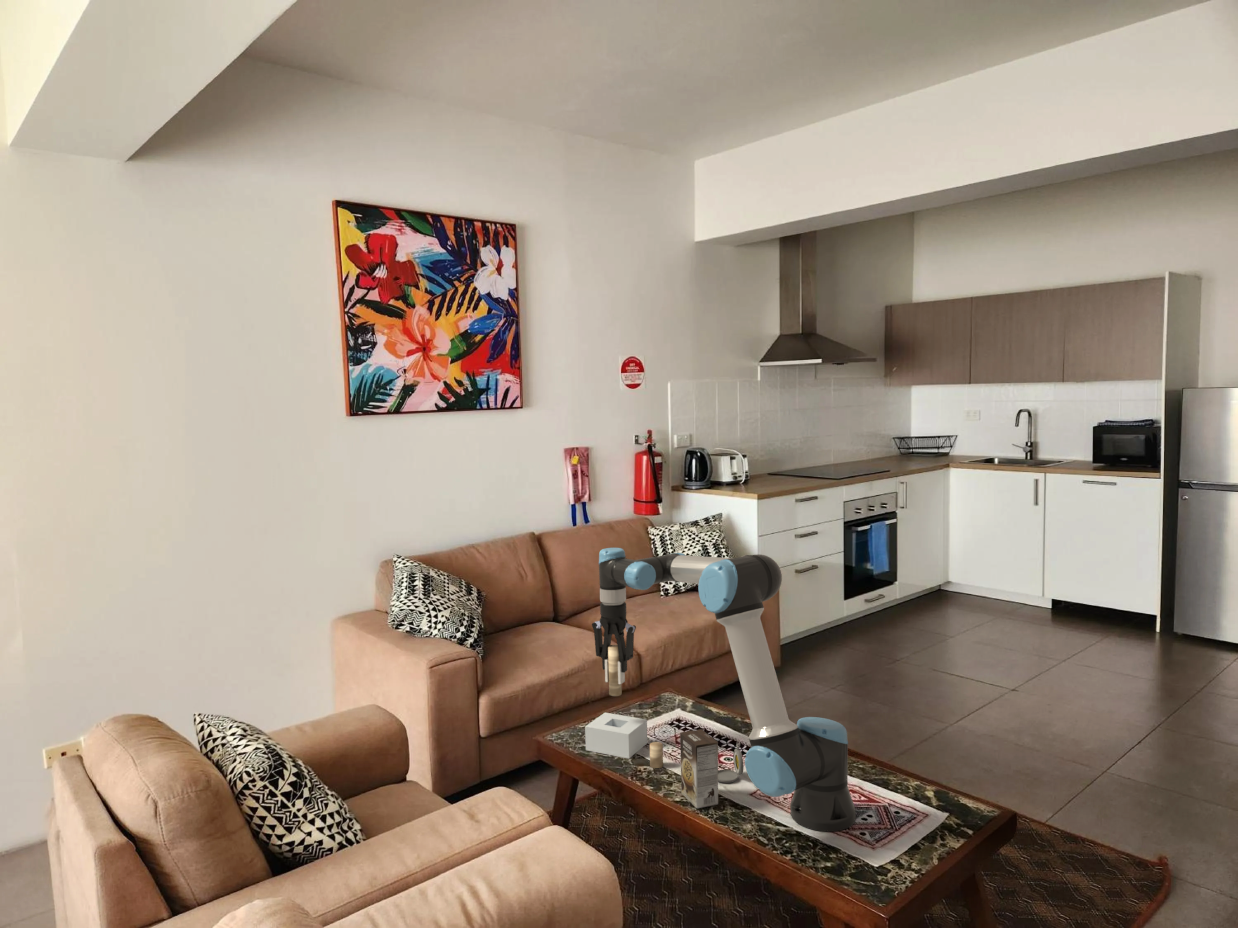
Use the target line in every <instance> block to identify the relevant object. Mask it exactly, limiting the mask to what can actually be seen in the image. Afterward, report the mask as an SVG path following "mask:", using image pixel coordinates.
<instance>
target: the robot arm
mask: <svg viewBox="0 0 1238 928" xmlns="http://www.w3.org/2000/svg"><path fill="white" fill-rule="evenodd" d="M626 557H627V555H626V551H625V550H624V549H623V548H621V547H607V548H602V549H601V550H600V551H599V554H598V574H599V575H598V576H599V601H600V603H599V606H600V607H599V611H600V614H599V615H600V618H599V620H596V621H593V622H592V623H591V627H592V630H593V633H594V647H595V656H596V657H600V658H601V662H602V663H601V664H602V670H604V682H605V683H609V667H608V646H609V645H612V636H613V635H614V638H615V640H616V645H617V646H618V651H619V657H620V660H619V661H618V684H621V685H622V684H623V683H625V680H626V674H625V673H626V672H627V671H628V661H630V660H631V659H633V658H634V643H635V642H634V640H635V631H636V630H637V627H636V625H634V624H630V623H629V622H628V620H627V603H626V601H627V589H626V587H628V588H631V589H634V590H639V591H646V590H648V589H649V588H651V587H652V586H653V585H657V584H660V583H665V582H666V583H667V582H676V583H685V584H686V583H688V584H695V585H697V584H698V587H697V588H698V597H699V600H700V602H701V604H702V606H703V607H705V609H706V610H707V611H708V612H711V613H713V614H714V616H715V620H716V622H717V623H718V624H720V625H722V626H723V627H724V628H725V632H726V635H727V640H728V643H729V646H730V650H731V653H732V658H733V662H734V665H735V669H736V672H737V675H738V679H739V682H740V687H741V690H742V694H743V697H744V701H745V704H746V708H747V709H746V710H747V713H748V716H749V719H750V722H751V726H752V730H751V732H750V734H749V735H748V741H749V744H750V745H749V746H750V748H749V750H747V752H746V753H745V758H744V766H745V769H746V773H747V775H748V777H749V779H750V781H751V782H752V784H753V785H754V787H755V788H756V789H759V791H760V792H761V793H763V794H765V795H766V796H769V797H773V798H776V797H777V798H778V797H782V796H784V795H791V794H792V793H793V795H792V797H791V801H790V805H789V806H790V807H789V808H790V811H789V812H790V817H791V818H792V819H793V821H794V822H795V823H797V824H798V825H800V826H802V827H804V828H807V829H810V830H813V831H819V832H838V831H839V832H840V831H843V830H846V829H849V828H850V827H852V826H853V825H854V824H855V823H856V807H855V804H854V801H853V799H852V795H851V793H850V790H849V789H850V788H849V785H848V784H849V783H848V775H849V774H848V771H849V770H848V769H849V768H848V767H849V766H848V765H849V764H848V763H849V762H848V759H849V758H848V756H849V755H848V754H849V753H848V751H849V750H848V746H849V741H848V731H847V729H846V727H845V726H844V725H843V724H842V723H840V722H838V721H835V720H832V719H829V718H826V717H825V718H824V717H818V716H817V717H816V716H806V717H805V716H804V717H801V718H798V720H797V721H796V722H797V723H795V722H793V721H792V720H790V719H789V716H788V714H789V713H788V712H787V708H786V705H785V701H784V700H785V699H784V698H783V694H782V691H781V687H780V683H779V680H778V676H777V673H776V670H775V667H774V662H773V659H772V654H771V652H770V647H769V644H768V641H767V638H766V633H765V631H764V627H763V623H762V620H761V617H762V614H763V612H764V610H765V606H764V603H763V602H766V601H768V600H770V599H771V598H773V597H774V596H775V595H776V594H778V592H779V590H780V589H781V585H782V581H783V575H782V574H783V573H782V570H781V568H780V566H779V564H778V563H777V562H776V561H775V560H774V559H773V558H772V557H770V556H768V555H765V554H758V553H757V554H746V555H745V554H744V555H742V556H739V557H720V556H718V557H717V556H700V555H686V554H684V553H683V552H678V553H677V552H673V553H672V552H671V553H669V554H664V555H658V556H653V557H652V556H651V557H646V558H639V559H631V558H630V559H629V558H626ZM602 628H603V629H602ZM625 629H626V630H625ZM625 632H626V634H625ZM625 635H626V636H625ZM625 637H626V638H625Z"/></svg>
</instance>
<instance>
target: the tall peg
mask: <svg viewBox="0 0 1238 928" xmlns="http://www.w3.org/2000/svg"><path fill="white" fill-rule="evenodd" d="M619 660H620V657H619V651H618V646H617V644H611V645H609V646H608V667H609V682H608V694H609V696H612V697H619V696H621V695H622V692H623V691H622V689H623V688H622V684H618V661H619Z"/></svg>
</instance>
